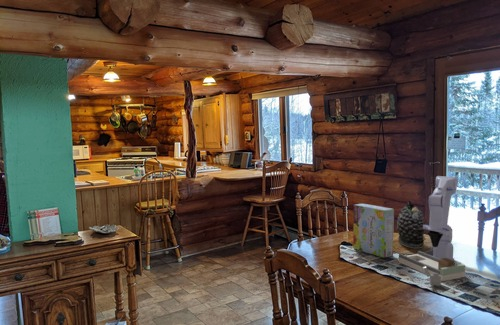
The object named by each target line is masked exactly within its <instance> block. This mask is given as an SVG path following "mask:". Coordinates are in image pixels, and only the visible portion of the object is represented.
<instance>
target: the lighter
mask: <svg viewBox="0 0 500 325" xmlns="http://www.w3.org/2000/svg"><path fill="white" fill-rule="evenodd" d="M423 268H424V270H425V272H426V274H425V275H426V276H427V277H429V285H430V286H434V285H436V287H441V282H442V281H441V276H440V275H439V274H438V273H433V274H430V273H429V271H428V269H427V267H426V266H425V267H423Z"/></svg>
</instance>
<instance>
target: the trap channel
mask: <svg viewBox="0 0 500 325" xmlns="http://www.w3.org/2000/svg"><path fill="white" fill-rule="evenodd" d="M397 258H398V259H397V260H398V261H397V262H398V263H401V264H403V265H405V266H406V267H409V268H412V269H413V270H416V271H417V272H421V273H423V274H425V275H427V274H426V272H425V270H424V268H423V267H425V266H426V267H427V269H428V271H429V273H430V274H433V273H438V274H439V275H440V276H441V282H445V281H450V280H456V279H461V277H462V278H466V264H463V263H462V264H455V266H450V267H444V268H440V270H438V260H439V258H437V257H434V256H433V255H431V254H428V253H426V252H423V251H420V250H417V253H415V254H410V255H405V254H402V253H399V254H398V257H397Z"/></svg>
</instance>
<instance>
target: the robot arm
mask: <svg viewBox="0 0 500 325" xmlns="http://www.w3.org/2000/svg"><path fill="white" fill-rule="evenodd" d="M457 187H458V178H457V176H442V175H437V176H436V177H435V187H434V188H435V189H433V192H432V194H431V195H429V196H428V209H429V223H428V224H425V225H423V229H425V230H426V231H428V232H427V234H428V236H429V239H430V242H431V246H432V251H433V252H432V256H434V257H437V258H439V259H443V258H448V259H451V260H454V261H455V258H454V245H453V243H452V241H453V229H452V226H450V225H449V224H448V221H449V215H450V207H451V200H452V197H453V195H455V194H457V193H456V192H457Z"/></svg>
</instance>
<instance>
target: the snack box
mask: <svg viewBox="0 0 500 325" xmlns="http://www.w3.org/2000/svg"><path fill="white" fill-rule="evenodd" d="M394 220H395V208H390V207H385V206H379V205H374V204H367V203H358V204H357V203H356V204H353V234H352V236H353V237H352V239H353V242H352V243H353V245H352V246H353V247H352V249H353V248H354V250H356V249H357V250H356V251H360V252H363V253H366V254H370V255H374V256H377V257H381V258H384V259H385V258H388V257H391V256H394V232H395V231H394V226H395V225H394V224H395V223H394Z"/></svg>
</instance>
